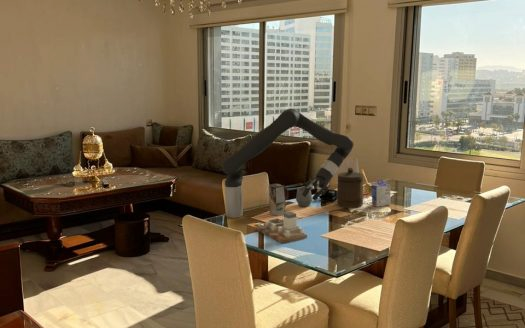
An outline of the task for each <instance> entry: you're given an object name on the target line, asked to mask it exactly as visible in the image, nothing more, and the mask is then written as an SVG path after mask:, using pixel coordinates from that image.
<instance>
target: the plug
mask: <svg viewBox="0 0 525 328" xmlns="http://www.w3.org/2000/svg"><path fill="white" fill-rule="evenodd" d="M282 216H283V220H284V229H286V230H293V229H296V226H297V213H295V212H293V211H288V212H287V211H286V213H283V215H282Z"/></svg>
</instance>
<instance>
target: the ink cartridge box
mask: <svg viewBox="0 0 525 328" xmlns="http://www.w3.org/2000/svg"><path fill="white" fill-rule="evenodd" d="M391 188H392V187H391V184H390V183H387V182H384V180H383V179H379V180H377V183H376V184H371V205H372V206H374V207H376V208H378V207H383V206H391Z"/></svg>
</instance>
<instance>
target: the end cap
mask: <svg viewBox="0 0 525 328" xmlns="http://www.w3.org/2000/svg"><path fill="white" fill-rule="evenodd" d="M323 191H324V190H323ZM318 199H319V201H320V202H327V203H335V202H337V189H332V188H331V189H330V188H328V190H327V191H326V193H325V194H324V195H323V194H321V195H320V196H319V197H318Z"/></svg>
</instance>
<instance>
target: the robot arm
mask: <svg viewBox="0 0 525 328" xmlns="http://www.w3.org/2000/svg"><path fill="white" fill-rule="evenodd" d="M293 127H296V128H299V129H301V130H304V131H305V132H306V133H308V134H309V135H310V136H312V137H313V138H315V139H316V140H317V141H319V142H322V143H324V144H326V145H328V146H335V147H336V148H335V150H334V151H333V152H331V154H330V155H329V157H328V158H327V159H326V160H325V162H324V163H322V165H321V166H320V168H319V169H318V171H316V174H315V178H313V177H310V178H309V179H308V180H307V182H306V183H305V184H304V186H303V188H306V189H305V190H304V192H303V193H302V195H303V196H304V197H306V195H307V194H308V193H309V191H310V190H315V189H316V192H314V195H312V201H315V202H316V201H317V200H318V199H319V196H320V195H321V194H323V195H324V194H325V193H326V191H327V190H328V189H330V187H331V185H330V181H331V180H332V179H333V178H334V176H335V174H337V171H338V169H339V168H340V167H341V165H342V164H343V162H344V161H345V160H346V158H347V157H348V156H349V154H350V153H351V152H352V149H353V148H354V141H353V140H352V138H350V137H348V136H347V135H345V134H344V135H343V134H341V133H337V132H334V131H333V130H330V129H329V128H326V127H325V126H322V125H321V124H319V123H316V122H315V121H314V120H311V119H310V118H308V117H306V116H305V115H303V113H301V112H300V111H298V109H297V110H296V109H295V108H288V109H285V110H283V111H282V112H281V113H280V114H279V115H278V117H277V118H276V119H275V120H273V121H272V122H271V123H270V124H269V125H267V126H266V127H264V128H263V129H261V130H260V131H258V132H257V133H256V134H254V135H253V136H252V137H251V138H249V140H247V142H245V143H244V145H242V146H241V148H239V150H237V151H236V152H235V153H233V154H232V155H230V156H228V157H227V158H225V159H224V160H223V161H222V162H221V170H222V172H223V173H224V174H225V175H226V178H225V180H224V195H225V196H224V197H225V199H224V200H225V202H224V203H225V216H226V217H227V218H230V219H237V218H241V217H243V216H244V215H243V214H244V213H243V212H244V211H243V209H244V208H243V190H242V189H243V185H242V181H243V174H244V173H243V167H244V166H243V165H244V164H246V163H247V162H248V161H250V160H252V159H254V158H255V157H257V156H258V155H260V154H261V153H262V152H263V151H266V149H267V148H269V147H270V146H271V145H272V144H273V143H274V142H275V141H276V140H277V138H278V137H279V136H280V135H282V134H283V133H285V132H287V131H288V130H290V129H291V128H293ZM323 190H324V191H323Z"/></svg>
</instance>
